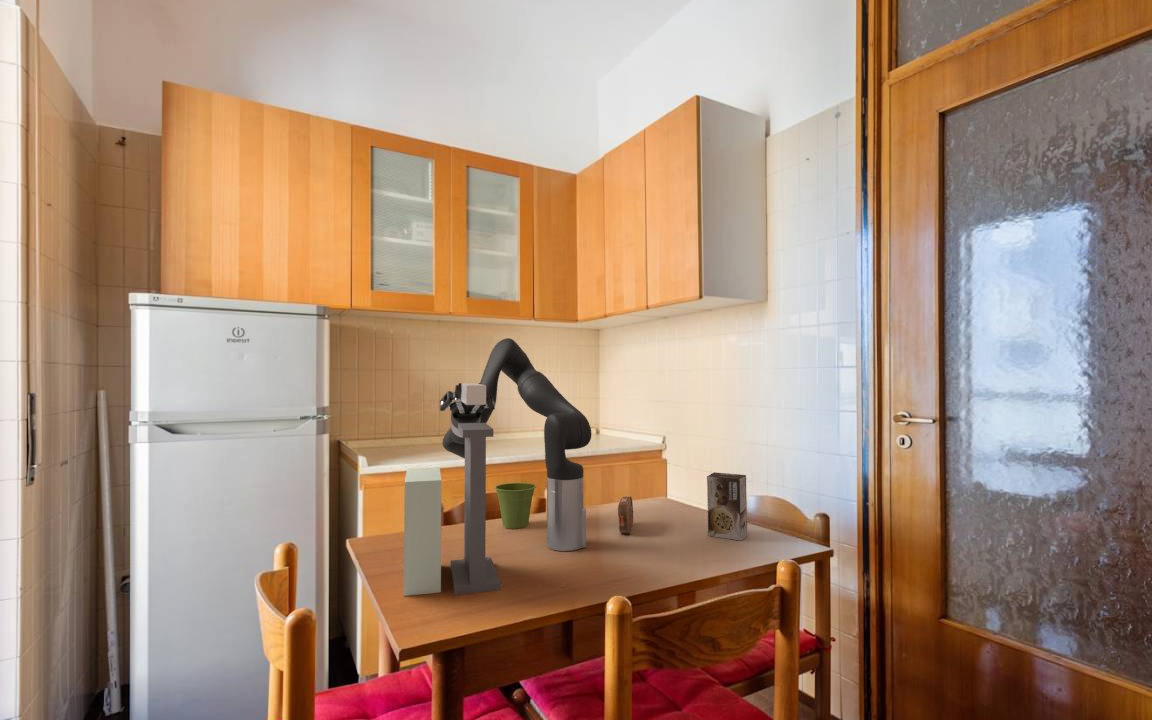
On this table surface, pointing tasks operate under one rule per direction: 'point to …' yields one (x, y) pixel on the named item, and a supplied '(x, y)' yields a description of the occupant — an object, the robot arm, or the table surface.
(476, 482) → the tall stand
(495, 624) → the table surface
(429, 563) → the pedestal
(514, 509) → the plant pot
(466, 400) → the stone bar
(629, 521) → the tin
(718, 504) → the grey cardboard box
